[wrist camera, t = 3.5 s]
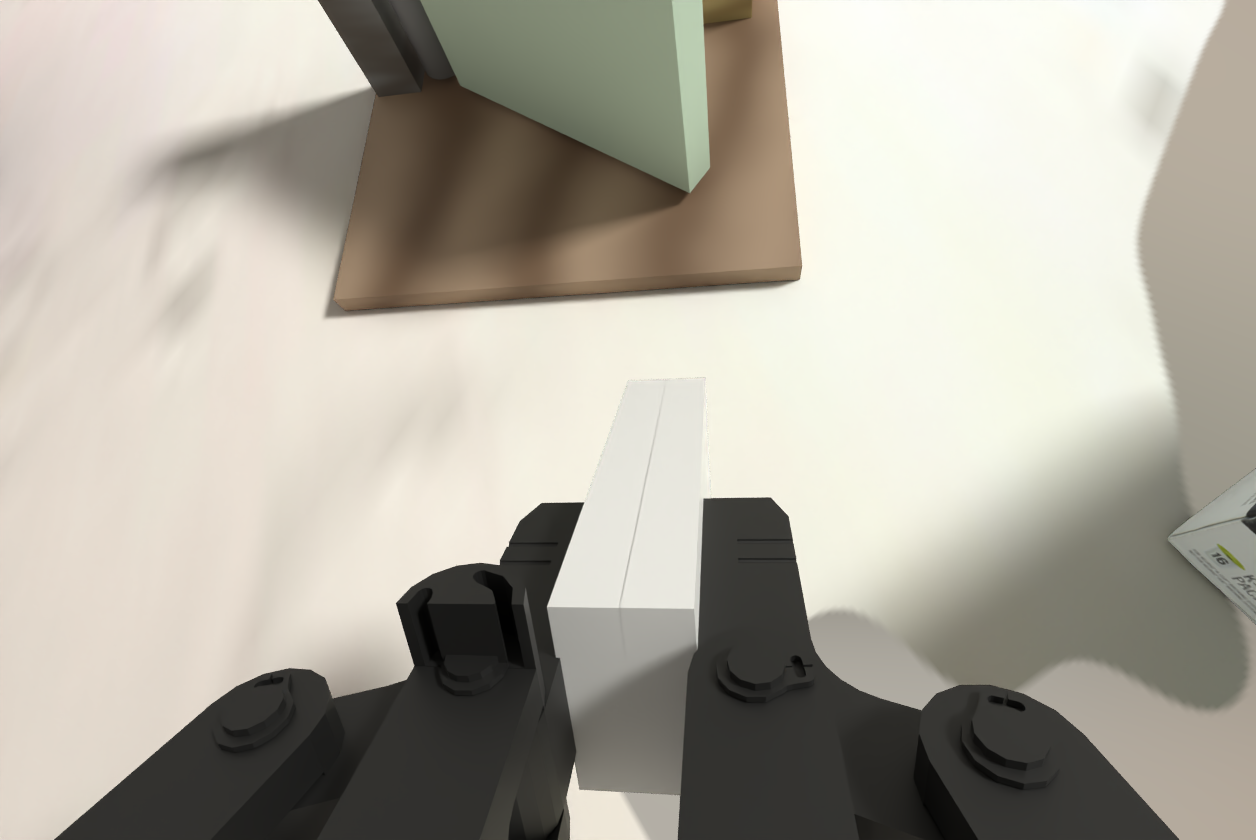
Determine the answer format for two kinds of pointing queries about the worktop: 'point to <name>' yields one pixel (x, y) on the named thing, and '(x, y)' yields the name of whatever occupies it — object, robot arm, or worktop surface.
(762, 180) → the wooden stand
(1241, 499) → the tea box
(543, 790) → the robot arm
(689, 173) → the gate
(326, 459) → the worktop surface
